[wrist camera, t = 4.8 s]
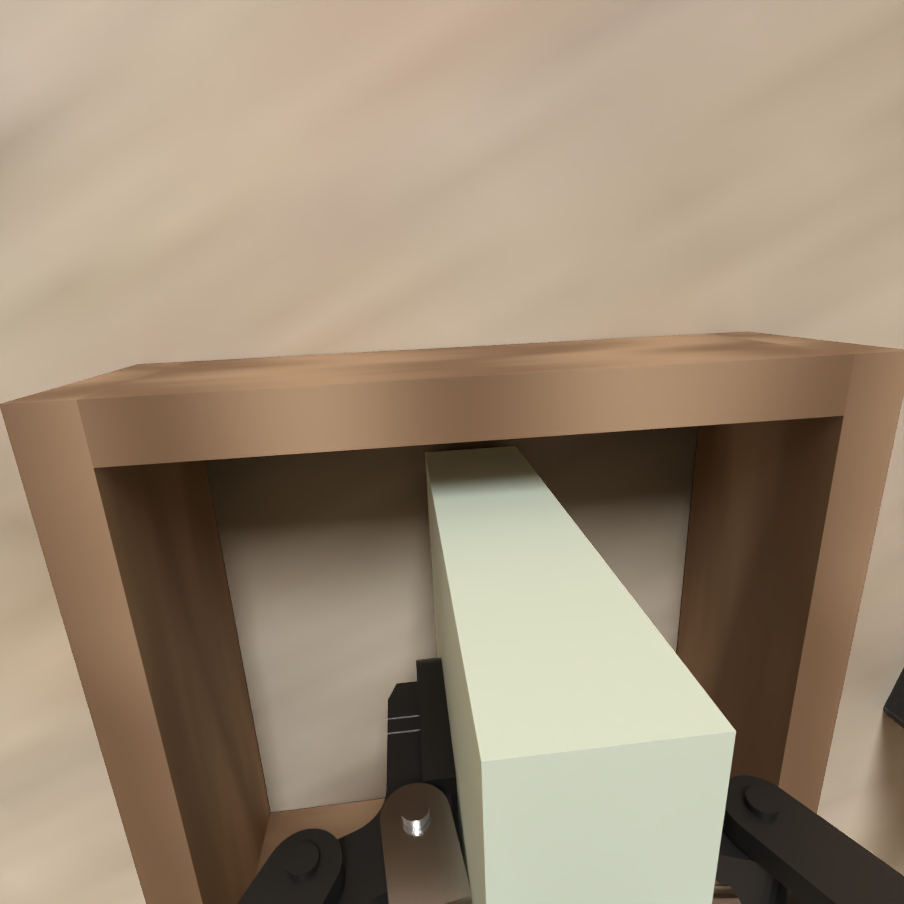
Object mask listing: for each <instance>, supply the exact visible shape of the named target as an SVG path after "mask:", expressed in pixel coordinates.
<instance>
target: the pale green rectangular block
mask: <svg viewBox="0 0 904 904" xmlns="http://www.w3.org/2000/svg"><path fill="white" fill-rule="evenodd" d="M425 463H426V479H427V496H428V513H429V530H430V546H431V563H432V580H433V596H434V613H435V630H436V646H437V658H441V660H442V667H443V675H444V683H445V691H446V699H447V707H448V715H449V723H450V731H451V739H452V747H453V755H454V763H455V771H456V782H457V802H458V821H459V840H460V849H461V853H462V857H463V861H464V865H465V869H466V873H467V877H468V881H469V885H470V889H471V896H472V903H473V904H712V899H713V892H714V885H715V878H716V871H717V864H718V857H719V849H720V842H721V835H722V828H723V821H724V814H725V807H726V800H727V793H728V786H729V779H730V771H731V764H732V757H733V750H734V743H735V736H736V730H735V729H734V728H733V727H732V725H731V724H730V723H729V721H728V720H727V719H726V718H725V716H724V715H723V714H722V712H721V711H720V710H719V708H718V707H717V706H716V705H715V703H714V702H713V701H712V699H711V698H710V697H709V696H708V694H707V693H706V692H705V690H704V689H703V688H702V686H701V685H700V684H699V683H698V681H697V680H696V679H695V677H694V676H693V675H692V674H691V672H690V671H689V670H688V668H687V667H686V666H685V664H684V663H683V662H682V661H681V659H680V658H679V657H678V655H677V654H676V653H675V652H674V650H673V649H672V648H671V646H670V645H669V644H668V642H667V641H666V640H665V639H664V637H663V636H662V635H661V633H660V632H659V631H658V630H657V628H656V627H655V626H654V624H653V623H652V622H651V620H650V619H649V618H648V617H647V615H646V614H645V613H644V611H643V610H642V609H641V608H640V606H639V605H638V604H637V602H636V601H635V600H634V598H633V597H632V596H631V595H630V593H629V592H628V591H627V589H626V588H625V587H624V586H623V584H622V583H621V582H620V580H619V579H618V578H617V576H616V575H615V574H614V573H613V571H612V570H611V569H610V567H609V566H608V565H607V564H606V562H605V561H604V560H603V558H602V557H601V556H600V554H599V553H598V552H597V551H596V549H595V548H594V547H593V545H592V544H591V543H590V542H589V540H588V539H587V538H586V536H585V535H584V534H583V533H582V531H581V530H580V529H579V527H578V526H577V525H576V523H575V522H574V521H573V520H572V518H571V517H570V516H569V514H568V513H567V512H566V511H565V509H564V508H563V507H562V505H561V504H560V503H559V501H558V500H557V499H556V498H555V496H554V495H553V494H552V492H551V491H550V490H549V489H548V487H547V486H546V485H545V483H544V482H543V481H542V479H541V478H540V477H539V476H538V474H537V473H536V472H535V470H534V469H533V468H532V467H531V465H530V464H529V463H528V461H527V460H526V459H525V457H524V456H523V455H522V454H521V452H520V451H519V450H518V448H517V447H516V446H508V447H494V448H480V449H466V450H451V451H437V452H425Z"/></svg>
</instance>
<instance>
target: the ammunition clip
mask: <svg viewBox="0 0 904 904" xmlns="http://www.w3.org/2000/svg"><path fill="white" fill-rule="evenodd" d="M884 709H885V712H886V714H887V715H888V716H889V717H890V718H892V719H893V720H894V721H895V722H897V723H898V724H899V725H900V726H902V727H903V728H904V668H903V670H902V672H901V674H900V676H899V678H898V680H897V682H896V684H895V686H894V688H893V690H892V692H891V694H890V696H889V698H888V700H887V702H886V703H885V705H884Z"/></svg>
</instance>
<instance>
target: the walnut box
mask: <svg viewBox="0 0 904 904" xmlns="http://www.w3.org/2000/svg"><path fill="white" fill-rule="evenodd" d="M903 395H904V350H902V349H894V348H885V347H876V346H867V345H859V344H850V343H841V342H833V341H824V340H815V339H807V338H798V337H789V336H780V335H772V334H763V333H754V332H734V333H716V334H697V335H678V336H660V337H641V338H623V339H604V340H585V341H567V342H548V343H529V344H511V345H492V346H473V347H455V348H436V349H418V350H399V351H380V352H362V353H343V354H324V355H306V356H287V357H268V358H250V359H231V360H213V361H194V362H175V363H157V364H138V365H134V366H130V367H127V368H124V369H120V370H117V371H113V372H110V373H106V374H103V375H99V376H96V377H92V378H89V379H85V380H82V381H78V382H75V383H71V384H68V385H65V386H61V387H58V388H54V389H51V390H47V391H44V392H40V393H37V394H33V395H30V396H26V397H23V398H19V399H16V400H13V401H9V402H6V403H2V404H0V408H1V412H2V415H3V418H4V422H5V425H6V429H7V432H8V435H9V439H10V442H11V446H12V449H13V452H14V456H15V459H16V463H17V466H18V469H19V473H20V476H21V480H22V483H23V486H24V490H25V493H26V497H27V500H28V503H29V507H30V510H31V514H32V517H33V520H34V524H35V527H36V531H37V534H38V537H39V541H40V544H41V548H42V551H43V554H44V558H45V561H46V565H47V568H48V571H49V575H50V578H51V582H52V585H53V588H54V592H55V595H56V599H57V602H58V605H59V609H60V612H61V616H62V619H63V622H64V626H65V629H66V633H67V636H68V639H69V643H70V646H71V650H72V653H73V656H74V660H75V663H76V667H77V670H78V673H79V677H80V680H81V684H82V687H83V690H84V694H85V697H86V701H87V704H88V707H89V711H90V714H91V718H92V721H93V724H94V728H95V731H96V735H97V738H98V741H99V745H100V748H101V752H102V755H103V758H104V762H105V765H106V768H107V772H108V775H109V779H110V782H111V785H112V789H113V792H114V796H115V799H116V802H117V806H118V809H119V813H120V816H121V819H122V823H123V826H124V830H125V833H126V836H127V840H128V843H129V847H130V850H131V853H132V857H133V860H134V864H135V867H136V870H137V874H138V877H139V881H140V884H141V887H142V891H143V894H144V898H145V901H146V904H237V903H238V902H239V900H240V899H241V897H242V896H243V894H244V893H245V892H246V890H247V889H248V887H249V886H250V884H251V883H252V881H253V880H254V878H255V877H256V875H257V874H258V873H259V871H260V870H261V868H262V867H263V865H264V864H265V862H266V861H267V859H268V858H269V856H270V855H271V853H272V852H273V851H274V850H275V848H276V847H277V846H278V845H279V844H280V843H281V842H282V841H283V840H285V839H286V838H287V837H289V836H290V835H292V834H294V833H296V832H298V831H301V830H305V829H311V828H317V829H323V830H326V831H328V832H330V833H331V834H332V835H334V836H335V837H336V839H339V838H341V837H343V836H346V835H348V834H350V833H352V832H354V831H356V830H358V829H360V828H362V827H363V826H365V825H366V824H367V823H369V822H370V821H371V820H372V819H373V818H374V817H375V816H376V815H377V813H378V812H379V810H380V809H381V807H382V805H383V803H384V800H385V798H384V799H376V800H368V801H360V802H352V803H344V804H337V805H329V806H321V807H313V808H305V809H297V810H290V811H282V812H274V813H270V809H269V804H268V798H267V793H266V788H265V782H264V777H263V771H262V766H261V761H260V755H259V750H258V745H257V739H256V734H255V728H254V723H253V718H252V712H251V707H250V702H249V696H248V691H247V685H246V680H245V675H244V669H243V664H242V658H241V653H240V648H239V642H238V637H237V632H236V626H235V621H234V615H233V610H232V605H231V599H230V594H229V589H228V583H227V578H226V572H225V567H224V562H223V556H222V551H221V546H220V540H219V535H218V529H217V524H216V519H215V513H214V508H213V502H212V497H211V492H210V486H209V481H208V476H207V470H206V465H205V460H215V459H229V458H244V457H258V456H272V455H287V454H301V453H316V452H330V451H344V450H359V449H373V448H387V447H402V446H416V445H430V444H445V443H459V442H473V441H488V440H502V439H517V438H531V437H545V436H560V435H574V434H588V433H603V432H617V431H631V430H646V429H660V428H675V427H689V426H698V437H697V447H696V458H695V468H694V478H693V489H692V499H691V510H690V520H689V531H688V541H687V552H686V562H685V573H684V583H683V593H682V604H681V614H680V625H679V635H678V646H677V655H678V657H679V658H680V659H681V661H682V662H683V663H684V664H685V666H686V667H687V668H688V670H689V671H690V672H691V674H692V675H693V676H694V677H695V679H696V680H697V681H698V683H699V684H700V685H701V686H702V688H703V689H704V690H705V692H706V693H707V694H708V696H709V697H710V698H711V699H712V701H713V702H714V703H715V705H716V706H717V707H718V708H719V710H720V711H721V712H722V714H723V715H724V716H725V718H726V719H727V720H728V721H729V723H730V724H731V725H732V727H733V728H734V729H735V730H736V736H735V743H734V750H733V757H732V764H731V771H730V778H732V777H735V776H740V775H748V776H755V777H758V778H762V779H764V780H767V781H769V782H771V783H773V784H775V785H776V786H778V787H779V788H781V789H782V790H784V791H785V792H786V793H788V794H789V795H791V796H792V797H793V798H795V799H796V800H798V801H799V802H800V803H802V804H803V805H805V806H806V807H807V808H809V809H810V810H812V811H813V812H814V813H816V814H817V810H818V805H819V800H820V795H821V790H822V785H823V781H824V776H825V771H826V766H827V761H828V757H829V752H830V747H831V742H832V737H833V732H834V728H835V723H836V718H837V713H838V708H839V703H840V699H841V694H842V689H843V684H844V679H845V675H846V670H847V665H848V660H849V655H850V650H851V646H852V641H853V636H854V631H855V626H856V622H857V617H858V612H859V607H860V602H861V597H862V593H863V588H864V583H865V578H866V573H867V568H868V564H869V559H870V554H871V549H872V544H873V540H874V535H875V530H876V525H877V520H878V515H879V511H880V506H881V501H882V496H883V491H884V487H885V482H886V477H887V472H888V467H889V462H890V458H891V453H892V448H893V443H894V438H895V433H896V429H897V424H898V419H899V414H900V409H901V405H902V400H903Z"/></svg>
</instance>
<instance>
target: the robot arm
mask: <svg viewBox="0 0 904 904" xmlns="http://www.w3.org/2000/svg"><path fill="white" fill-rule="evenodd" d="M416 667H417V682H408V683H399V684H396V686H395V688H394V690H393V692H392V694H391V695H390V697H389V699H388V738H387V790H386V797H385V800H384V803H383V805H382V807H381V809H380V810H379V812H378V813H377V815H376V816H375V817H374V818H373V819H372V820H371V821H370V822H369V823H367V824H366V825H365V826H363V827H362V828H360V829H358V830H356V831H354V832H352V833H350V834H348V835H346V836H343V837H341V838H339V839H336V837H335V836H334V835H332V834H331V833H330V832H328V831H326V830H323V829H317V828H311V829H305V830H301V831H298V832H296V833H294V834H292V835H290V836H289V837H287V838H286V839H285V840H283V841H282V842H281V843H280V844H279V845H278V846H277V847H276V848H275V850H274V851H273V852H272V853H271V855H270V856H269V858H268V859H267V861H266V862H265V864H264V865H263V867H262V868H261V870H260V871H259V873H258V874H257V875H256V877H255V878H254V880H253V881H252V883H251V884H250V886H249V887H248V889H247V890H246V892H245V893H244V894H243V896H242V897H241V899H240V900H239V902H238V903H237V904H473V903H472V896H471V889H470V885H469V881H468V877H467V873H466V869H465V865H464V861H463V857H462V853H461V849H460V840H459V821H458V802H457V782H456V771H455V763H454V755H453V747H452V739H451V731H450V723H449V715H448V707H447V699H446V691H445V683H444V675H443V667H442V660H441V658H431V659H422V660H416ZM712 904H904V876H903V875H901V874H900V873H898V872H897V871H896V870H894V869H893V868H891V867H890V866H889V865H887V864H886V863H884V862H883V861H882V860H880V859H879V858H877V857H876V856H875V855H873V854H872V853H870V852H869V851H868V850H866V849H865V848H863V847H862V846H861V845H859V844H858V843H856V842H855V841H854V840H852V839H851V838H849V837H848V836H847V835H845V834H844V833H842V832H841V831H840V830H838V829H837V828H835V827H834V826H833V825H831V824H830V823H828V822H827V821H826V820H824V819H823V818H821V817H820V816H819V815H817V814H816V813H814V812H813V811H812V810H810V809H809V808H807V807H806V806H805V805H803V804H802V803H800V802H799V801H798V800H796V799H795V798H793V797H792V796H791V795H789V794H788V793H786V792H785V791H784V790H782V789H781V788H779V787H778V786H776V785H775V784H773V783H771V782H769V781H767V780H764V779H762V778H758V777H755V776H748V775H740V776H735V777H732V778H730V779H729V786H728V793H727V800H726V807H725V814H724V821H723V828H722V835H721V842H720V849H719V857H718V864H717V871H716V878H715V885H714V892H713V899H712Z"/></svg>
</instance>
